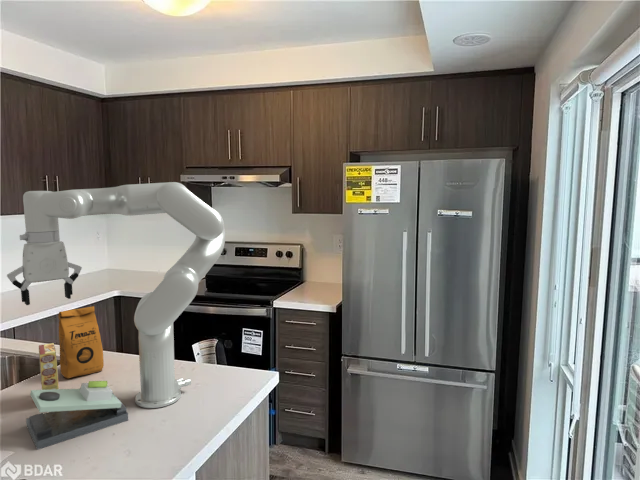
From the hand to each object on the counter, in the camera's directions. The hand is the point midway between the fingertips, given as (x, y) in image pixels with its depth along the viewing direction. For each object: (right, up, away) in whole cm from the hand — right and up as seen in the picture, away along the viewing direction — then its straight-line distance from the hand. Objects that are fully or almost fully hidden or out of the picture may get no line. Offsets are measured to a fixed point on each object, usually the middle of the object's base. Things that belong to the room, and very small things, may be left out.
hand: (48, 300), depth 124 cm
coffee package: (-6, -28, +29) cm, 40 cm away
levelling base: (+9, -32, -3) cm, 33 cm away
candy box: (-6, -30, +11) cm, 32 cm away
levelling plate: (+10, -26, -3) cm, 28 cm away
